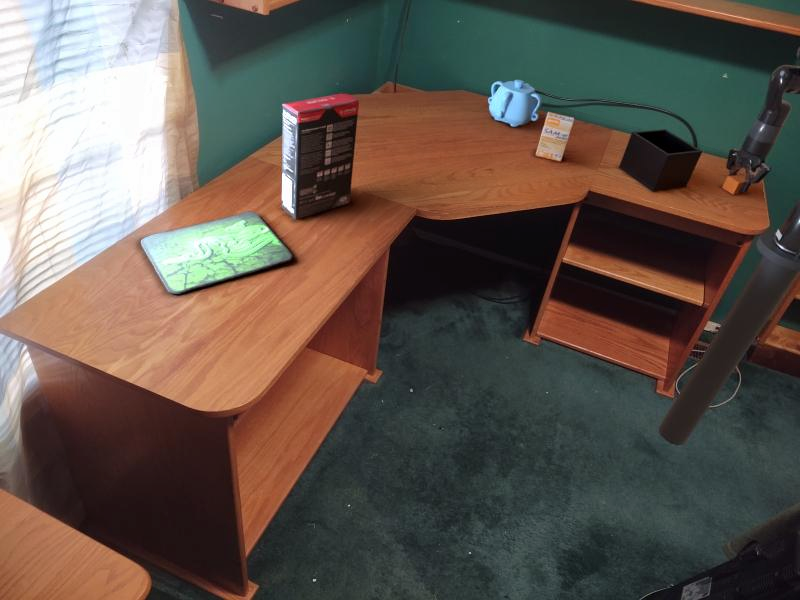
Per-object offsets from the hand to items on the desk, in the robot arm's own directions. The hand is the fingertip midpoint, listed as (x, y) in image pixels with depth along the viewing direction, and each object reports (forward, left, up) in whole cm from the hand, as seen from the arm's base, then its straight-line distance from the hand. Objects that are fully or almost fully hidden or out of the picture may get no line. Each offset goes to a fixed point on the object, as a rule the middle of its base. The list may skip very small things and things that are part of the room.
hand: (735, 188), depth 184 cm
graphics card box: (+19, +128, -1) cm, 129 cm away
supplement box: (+32, +48, -1) cm, 58 cm away
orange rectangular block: (0, 0, -1) cm, 1 cm away
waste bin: (+13, +22, -1) cm, 26 cm away
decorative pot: (+60, +45, -1) cm, 75 cm away
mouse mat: (+6, +155, -1) cm, 155 cm away
